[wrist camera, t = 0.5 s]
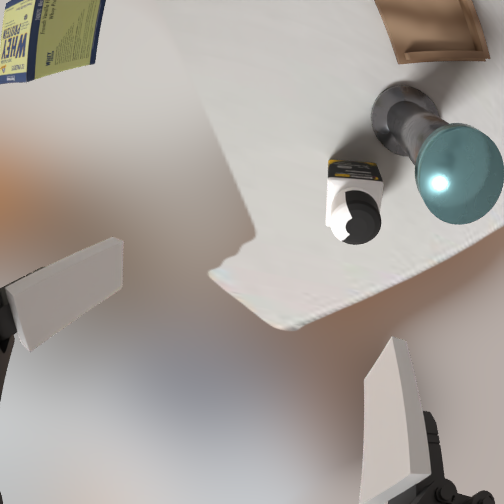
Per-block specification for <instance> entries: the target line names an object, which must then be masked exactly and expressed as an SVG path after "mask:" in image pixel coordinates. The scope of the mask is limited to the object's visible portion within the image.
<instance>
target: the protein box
mask: <svg viewBox="0 0 504 504" xmlns="http://www.w3.org/2000/svg"><path fill="white" fill-rule="evenodd" d="M105 2H106V0H11V1H10V2H8V3H6V7H5V13H4V20H3V27H2V36H1V46H0V84H5V83H16V82H19V83H22V82H29V81H32V80H34V79H38V78H41V77H44V76H47V75H51V74H54V73H58V72H61V71H64V70H68V69H73V68H76V67H81V66H86V65H91V64H95V60H96V52H97V45H98V37H99V32H100V26H101V21H102V16H103V11H104V6H105Z"/></svg>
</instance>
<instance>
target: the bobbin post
mask: <svg viewBox="0 0 504 504" xmlns="http://www.w3.org/2000/svg"><path fill="white" fill-rule="evenodd" d="M371 122H372V126H373V130H374V132H375V134H376V136H377V137H378V139H379V141H380V142H381V143H382V144H383V145H384V146H385V147H386V148H387V149H388V150H390V151H392V152H394V153H396V154H399V155H403V156H408V157H409V158H410V159H411V161H412V162H413V164H414V165H415V179H416V184H417V188H418V190H419V192H420V195H421V196H422V198H423V200H424V202H425V204H426V206H427V207H428V209H429V210H430V211H431V213H433V214H434V215H435V216H436V217H437V218H439V219H440V220H442V221H444V222H447V223H450V224H459V225H460V224H467V223H471V222H474V221H476V220H478V219H480V218H481V217H483V216H484V215H485V214H486V213H488V212H489V211H490V210H491V208H492V207H493V206H494V205H495V203H496V201H497V200H498V198H499V196H500V193H501V191H502V187H503V183H504V165H503V160H502V157H501V154H500V152H499V150H498V148H497V146H496V145H495V143H494V142H493V141H492V140H491V139H490V138H489V137H488V136H486V135H485V134H484V133H482V132H481V131H479V130H478V129H476V128H474V127H472V126H470V125H467V124H462V123H452V124H449V123H447V122H446V121H444V120H443V119H441V118H440V117H439V114H438V111H437V109H436V107H435V105H434V103H433V102H432V101H431V99H430V98H429V97H428V96H427V95H426V94H424V93H423V92H421V91H419V90H418V89H415V88H412V87H409V86H394V87H391V88H388V89H386V90H385V91H383V92H382V93H381V94H380V95H379V96H378V97H377V99H376V100H375V102H374V105H373V107H372V112H371Z"/></svg>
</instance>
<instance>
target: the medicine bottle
mask: <svg viewBox="0 0 504 504" xmlns="http://www.w3.org/2000/svg"><path fill="white" fill-rule="evenodd" d="M383 186H384V183H383V180H382V178H381V175H380V173H379V170H378V167H377V165H376V164H375V163H369V162H358V161H345V160H329V161H328V177H327V206H326V225H327V226H330V227H331V229H332V232H333V233H334V235H335V236H336V237H337V238H338V239H339V240H341V241H343V242H345V243H348V244H353V245H357V244H363V243H366V242H369V241H370V240H372V239H373V238H374V237H375V236H376V235H377V234H378V232H379V230H380V227H381V217H380V207H381V200H382V193H383Z"/></svg>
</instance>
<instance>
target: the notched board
mask: <svg viewBox="0 0 504 504" xmlns="http://www.w3.org/2000/svg"><path fill="white" fill-rule="evenodd" d="M374 1H375V3H376V6H377V8H378V10H379V13H380V15H381V17H382V20H383V22H384V25H385V27H386V30H387V33H388V35H389V38H390V41H391V44H392V47H393V50H394V53H395V56H396V59H397V62H398V64H408V63H419V62H434V61H486V60H485V59H490V55H489V51H488V47H487V44H486V40H485V37H484V34H483V30H482V27H481V24H480V21H479V18H478V15H477V13H476V10H475V7H474V5H473V2H472V0H374Z"/></svg>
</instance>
